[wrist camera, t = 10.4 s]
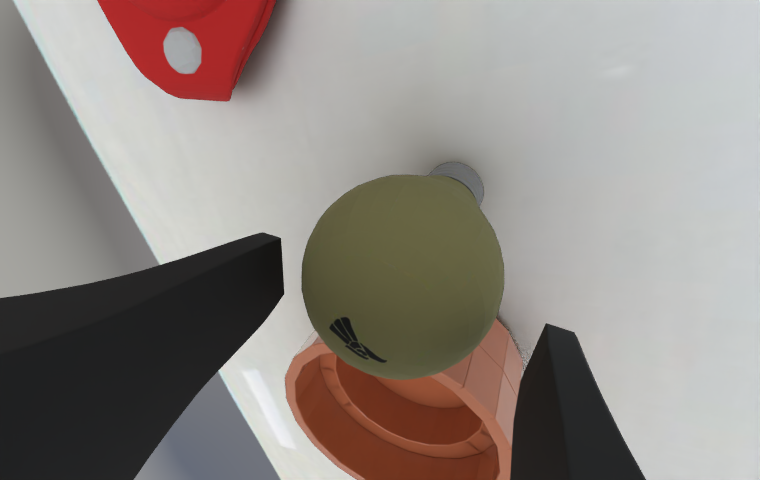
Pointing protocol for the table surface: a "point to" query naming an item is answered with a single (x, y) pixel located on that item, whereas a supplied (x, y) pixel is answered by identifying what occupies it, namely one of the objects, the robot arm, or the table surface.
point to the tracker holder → (190, 41)
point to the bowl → (411, 413)
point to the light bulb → (405, 273)
